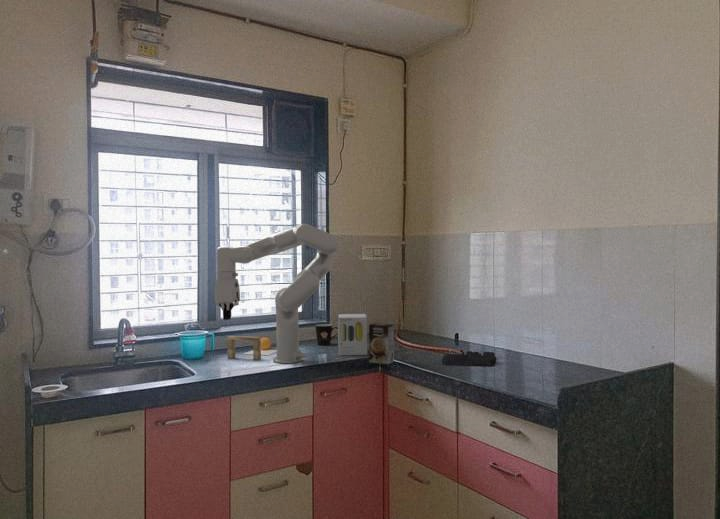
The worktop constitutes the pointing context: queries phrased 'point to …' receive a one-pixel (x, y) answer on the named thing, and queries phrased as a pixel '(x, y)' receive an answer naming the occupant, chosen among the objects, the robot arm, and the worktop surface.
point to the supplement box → (352, 334)
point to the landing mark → (263, 352)
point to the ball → (265, 343)
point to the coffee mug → (324, 334)
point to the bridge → (255, 339)
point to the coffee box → (381, 343)
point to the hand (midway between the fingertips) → (227, 319)
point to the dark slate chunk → (470, 359)
